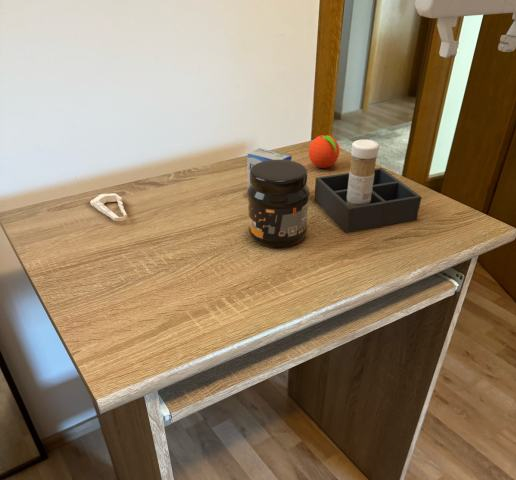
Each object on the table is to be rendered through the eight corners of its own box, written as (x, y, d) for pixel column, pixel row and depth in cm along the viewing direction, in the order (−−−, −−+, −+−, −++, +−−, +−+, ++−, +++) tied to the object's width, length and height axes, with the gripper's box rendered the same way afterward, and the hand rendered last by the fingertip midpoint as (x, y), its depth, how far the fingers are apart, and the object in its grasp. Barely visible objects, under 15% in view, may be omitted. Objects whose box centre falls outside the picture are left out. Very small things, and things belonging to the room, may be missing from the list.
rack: (378, 189, 102) (381, 167, 99) (416, 219, 92) (421, 196, 89) (314, 199, 99) (315, 177, 96) (346, 232, 89) (349, 209, 85)
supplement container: (242, 225, 91) (240, 161, 83) (296, 218, 93) (299, 155, 85) (256, 253, 83) (255, 186, 75) (314, 245, 85) (319, 178, 77)
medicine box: (247, 195, 101) (245, 153, 95) (259, 188, 104) (258, 146, 98) (278, 204, 97) (279, 161, 92) (290, 196, 100) (292, 154, 94)
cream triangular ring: (141, 219, 93) (139, 210, 92) (117, 226, 91) (115, 218, 90) (111, 196, 101) (110, 188, 100) (89, 203, 99) (87, 195, 98)
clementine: (346, 170, 110) (350, 138, 105) (321, 176, 108) (324, 143, 103) (326, 159, 115) (328, 127, 111) (301, 165, 113) (303, 133, 108)
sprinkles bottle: (360, 209, 94) (370, 137, 85) (373, 219, 91) (384, 145, 82) (339, 213, 93) (347, 140, 84) (351, 223, 89) (360, 149, 81)
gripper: (561, -83, 61) (523, 43, 71) (421, -81, 57) (399, 54, 66) (602, -84, 57) (556, 52, 66) (453, -81, 52) (425, 64, 61)
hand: (476, 53), depth 66 cm, fingers open, 8 cm apart
